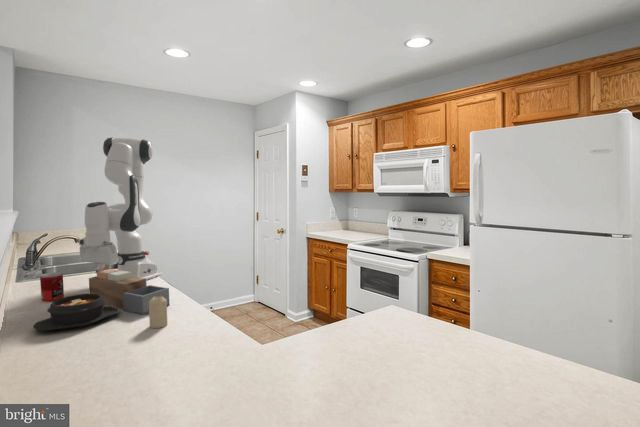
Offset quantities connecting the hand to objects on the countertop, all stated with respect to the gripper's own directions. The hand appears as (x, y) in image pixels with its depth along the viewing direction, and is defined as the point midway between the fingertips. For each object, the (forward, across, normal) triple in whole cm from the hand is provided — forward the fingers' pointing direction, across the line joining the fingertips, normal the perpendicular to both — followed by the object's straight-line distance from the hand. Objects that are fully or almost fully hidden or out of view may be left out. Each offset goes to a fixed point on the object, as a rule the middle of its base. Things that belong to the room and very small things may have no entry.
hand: (99, 273), depth 155 cm
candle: (+11, -48, +11) cm, 50 cm away
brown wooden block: (+11, -11, 0) cm, 16 cm away
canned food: (+11, +18, +9) cm, 23 cm away
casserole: (+12, -20, +21) cm, 31 cm away
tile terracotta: (+1, -6, 0) cm, 6 cm away
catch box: (+11, -28, 0) cm, 30 cm away
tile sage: (+1, -12, 0) cm, 13 cm away
